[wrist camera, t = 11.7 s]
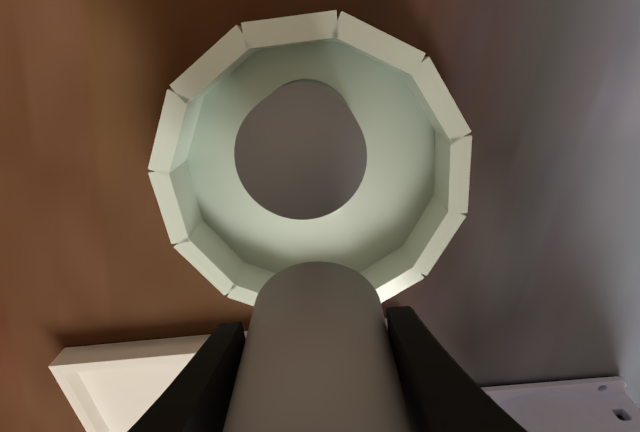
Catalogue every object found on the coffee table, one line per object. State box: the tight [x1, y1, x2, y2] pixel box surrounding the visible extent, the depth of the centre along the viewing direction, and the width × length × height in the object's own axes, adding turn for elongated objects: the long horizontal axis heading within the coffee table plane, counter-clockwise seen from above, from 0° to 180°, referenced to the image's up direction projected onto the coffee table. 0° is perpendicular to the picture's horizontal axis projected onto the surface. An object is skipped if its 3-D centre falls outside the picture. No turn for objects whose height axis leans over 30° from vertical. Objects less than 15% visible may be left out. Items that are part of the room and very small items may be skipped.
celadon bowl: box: [148, 10, 472, 306], centre depth 16 cm, size 13×13×3 cm
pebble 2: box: [223, 261, 413, 432], centre depth 9 cm, size 4×4×5 cm
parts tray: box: [48, 318, 388, 432], centre depth 22 cm, size 20×10×1 cm, turn 97°
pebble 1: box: [234, 79, 367, 220], centre depth 13 cm, size 4×4×5 cm
